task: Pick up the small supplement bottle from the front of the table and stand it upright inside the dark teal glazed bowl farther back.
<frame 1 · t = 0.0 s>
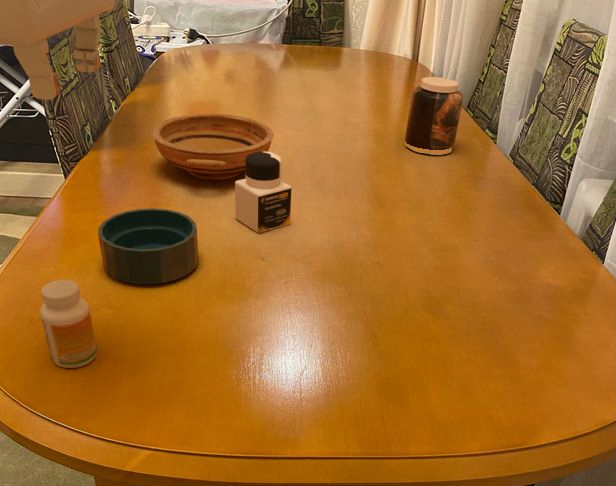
hand: (69, 83, 53), 33 cm above the table, tool pointing down, fingers open, 8 cm apart
teal bowl: (152, 263, 94), on the table
supplement bottle: (75, 357, 75), on the table
medicine bottle: (262, 222, 108), on the table
jar: (428, 148, 146), on the table
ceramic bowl: (214, 170, 127), on the table
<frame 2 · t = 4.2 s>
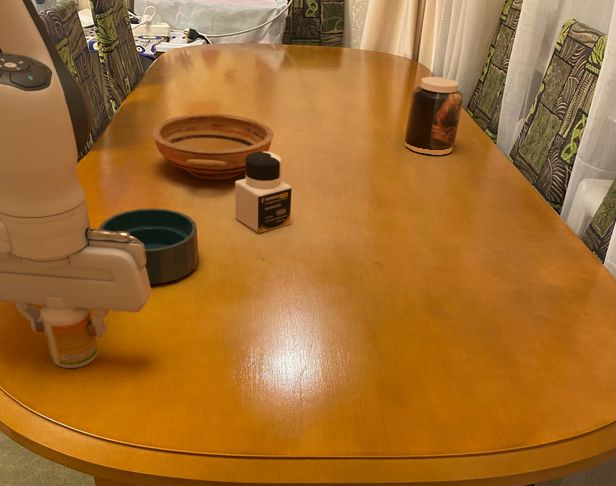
hand: (69, 331, 73), 4 cm above the table, tool pointing down, fingers closed on supplement bottle, 5 cm apart
supplement bottle: (75, 357, 75), on the table, touching gripper
everything else where it was.
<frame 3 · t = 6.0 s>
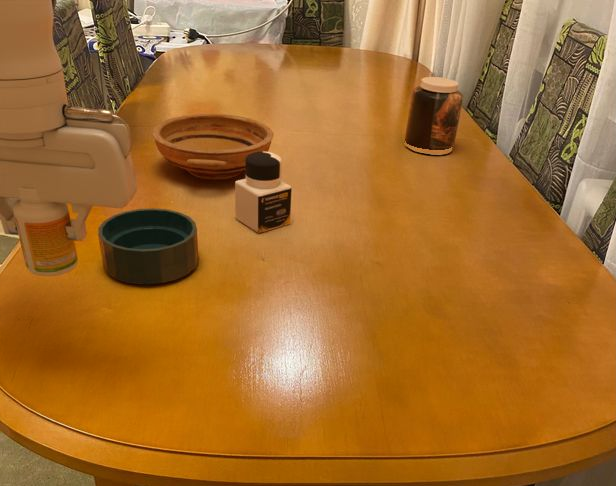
hand: (46, 235, 65), 16 cm above the table, tool pointing down, fingers closed on supplement bottle, 5 cm apart
supplement bottle: (53, 267, 67), point 12 cm above the table, touching gripper
everything else where it was.
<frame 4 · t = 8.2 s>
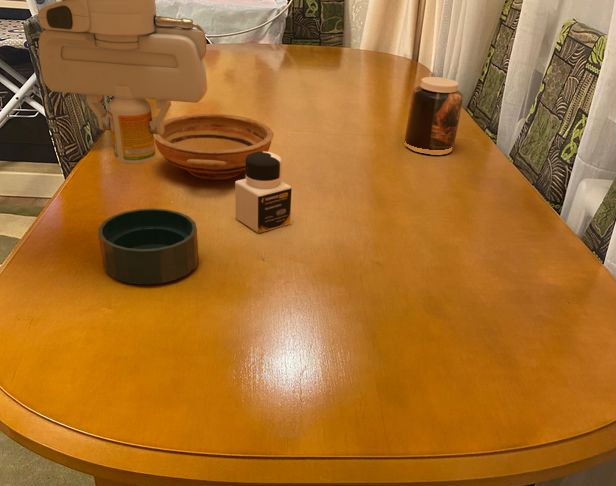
hand: (132, 131, 80), 21 cm above the table, tool pointing down, fingers closed on supplement bottle, 5 cm apart
supplement bottle: (135, 159, 83), point 17 cm above the table, touching gripper
everything else where it was.
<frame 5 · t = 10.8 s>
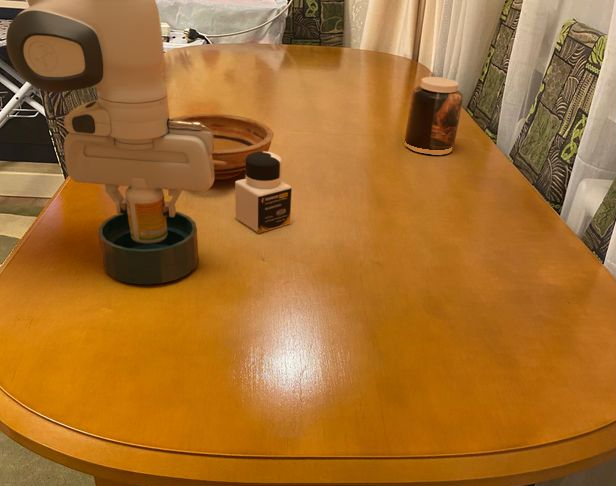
hand: (146, 213, 89), 8 cm above the table, tool pointing down, fingers closed on supplement bottle, 5 cm apart
supplement bottle: (149, 237, 91), point 4 cm above the table, touching gripper
everything else where it was.
when the fingers open (4 cm above the table, at t = 12.5 s): supplement bottle stays where it is, resting on teal bowl.
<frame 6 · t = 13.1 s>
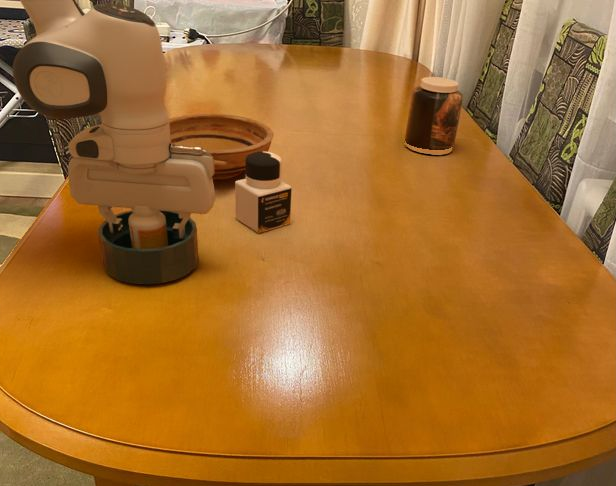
hand: (148, 234, 91), 5 cm above the table, tool pointing down, fingers open, 8 cm apart
supplement bottle: (151, 261, 94), resting on teal bowl
everything else where it was.
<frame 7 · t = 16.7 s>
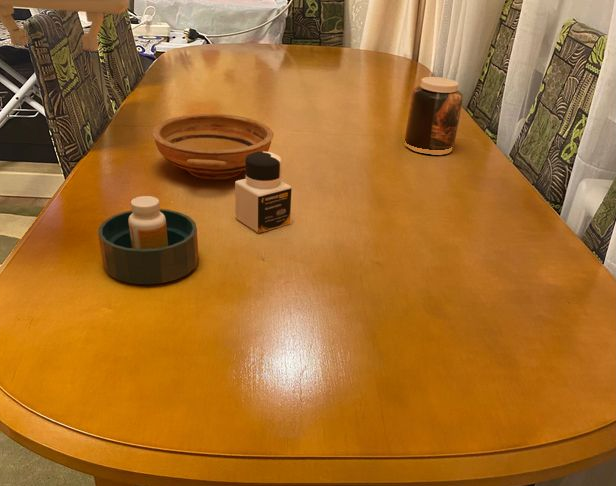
hand: (55, 47, 80), 29 cm above the table, tool pointing down, fingers open, 8 cm apart
nothing on the table moved.
at the end: supplement bottle inside the target area in the teal bowl (0.0 cm from its centre), point 0.4 cm above the teal bowl's base; supplement bottle tilted 0°; the gripper is holding nothing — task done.
